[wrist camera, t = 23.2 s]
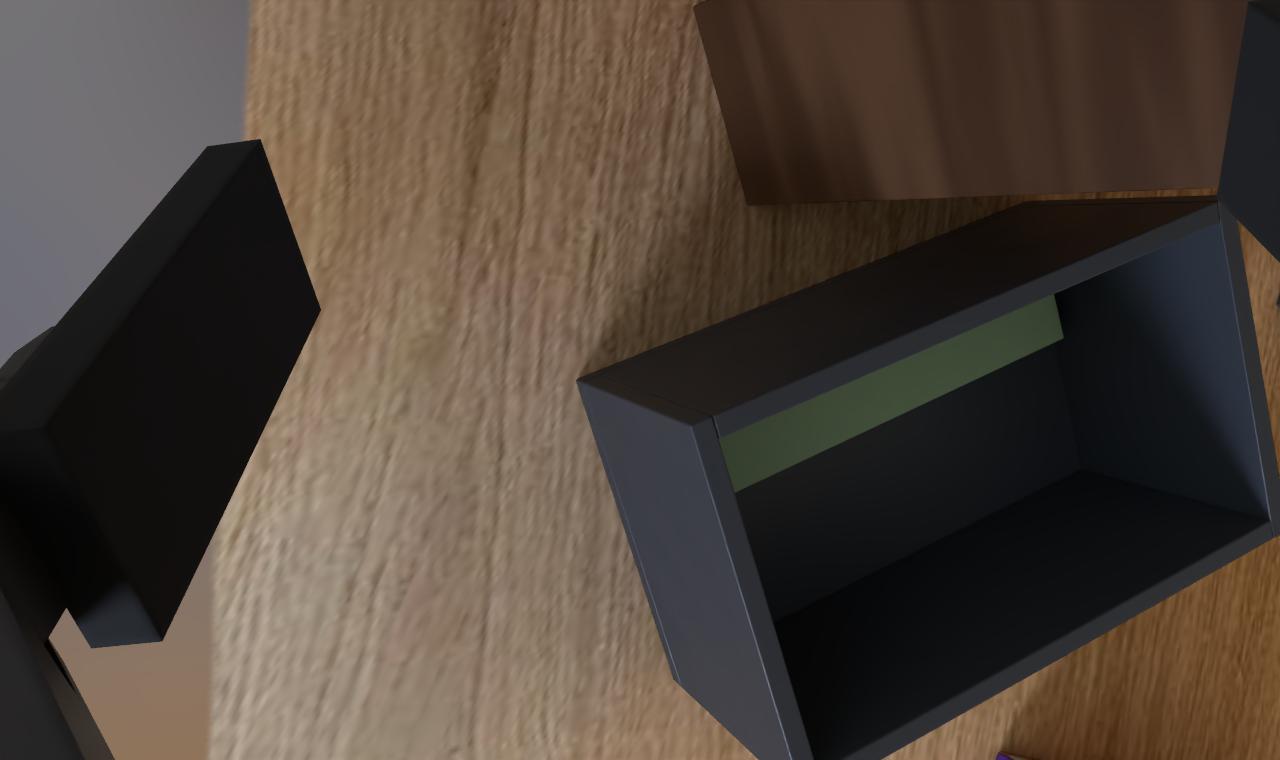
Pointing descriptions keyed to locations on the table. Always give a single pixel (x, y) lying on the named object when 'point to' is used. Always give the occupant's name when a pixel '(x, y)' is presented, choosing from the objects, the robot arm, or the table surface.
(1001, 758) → the game box
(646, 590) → the bin
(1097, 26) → the stand
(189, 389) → the robot arm
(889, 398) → the green square bar
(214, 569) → the table surface
